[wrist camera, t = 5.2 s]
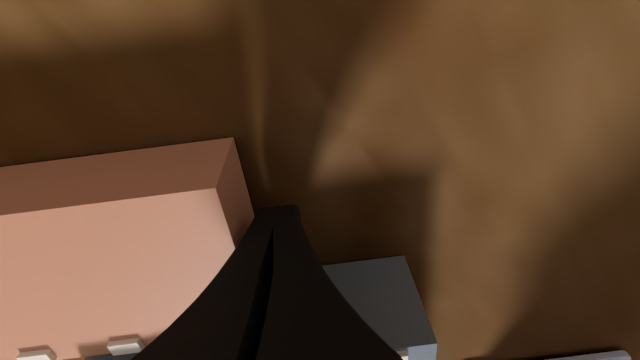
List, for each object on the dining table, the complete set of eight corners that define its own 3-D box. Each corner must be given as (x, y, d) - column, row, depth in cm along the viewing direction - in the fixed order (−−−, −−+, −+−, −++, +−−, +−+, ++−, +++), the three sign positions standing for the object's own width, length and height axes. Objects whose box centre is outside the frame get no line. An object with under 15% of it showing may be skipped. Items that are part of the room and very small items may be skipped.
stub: (233, 137, 11) (213, 192, 8) (268, 268, 14) (262, 340, 12) (-134, 184, 11) (-269, 253, 9) (-19, 305, 14) (-91, 383, 12)
